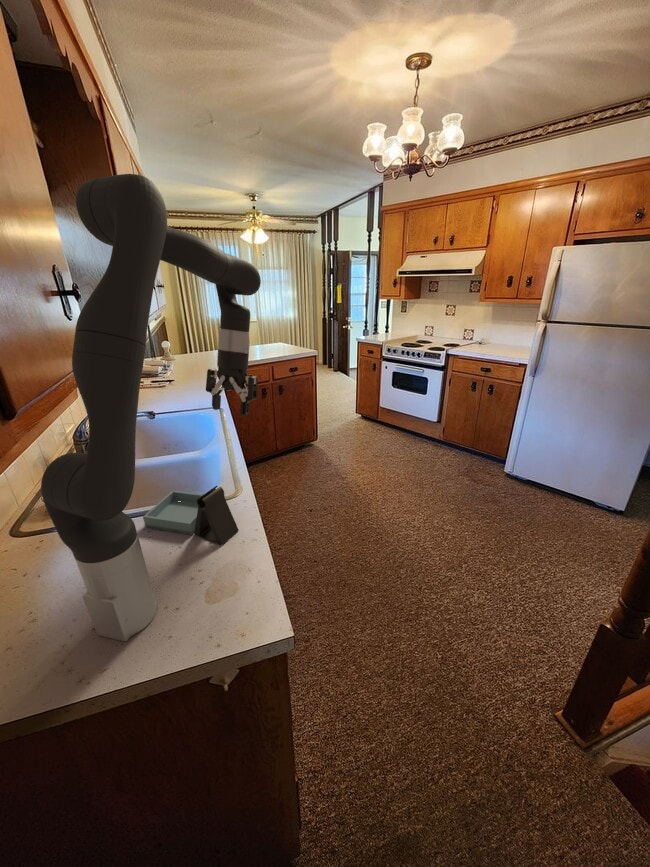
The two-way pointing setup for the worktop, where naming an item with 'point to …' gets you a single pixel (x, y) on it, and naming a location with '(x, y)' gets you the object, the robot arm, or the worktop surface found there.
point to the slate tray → (174, 513)
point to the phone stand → (214, 517)
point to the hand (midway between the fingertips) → (229, 412)
